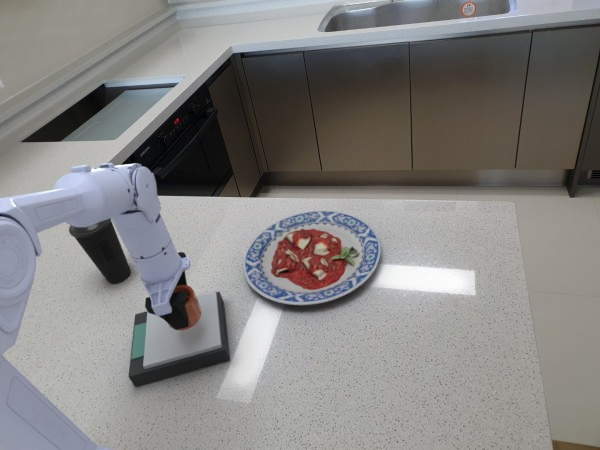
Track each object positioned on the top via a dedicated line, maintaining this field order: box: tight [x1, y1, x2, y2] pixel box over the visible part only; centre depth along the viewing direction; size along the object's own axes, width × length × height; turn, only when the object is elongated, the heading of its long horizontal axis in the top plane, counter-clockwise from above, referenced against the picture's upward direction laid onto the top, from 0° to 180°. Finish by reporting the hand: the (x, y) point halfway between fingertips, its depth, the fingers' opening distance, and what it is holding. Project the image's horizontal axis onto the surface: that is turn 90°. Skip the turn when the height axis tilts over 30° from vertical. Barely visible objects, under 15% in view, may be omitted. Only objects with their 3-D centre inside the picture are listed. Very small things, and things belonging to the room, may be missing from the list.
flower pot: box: [167, 284, 202, 331], centre depth 70 cm, size 5×6×4 cm
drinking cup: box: [68, 218, 132, 285], centre depth 87 cm, size 8×8×20 cm
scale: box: [127, 290, 231, 388], centre depth 75 cm, size 15×13×4 cm
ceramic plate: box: [242, 210, 381, 306], centre depth 86 cm, size 26×26×3 cm
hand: (182, 312), depth 70 cm, fingers closed on flower pot, 5 cm apart
